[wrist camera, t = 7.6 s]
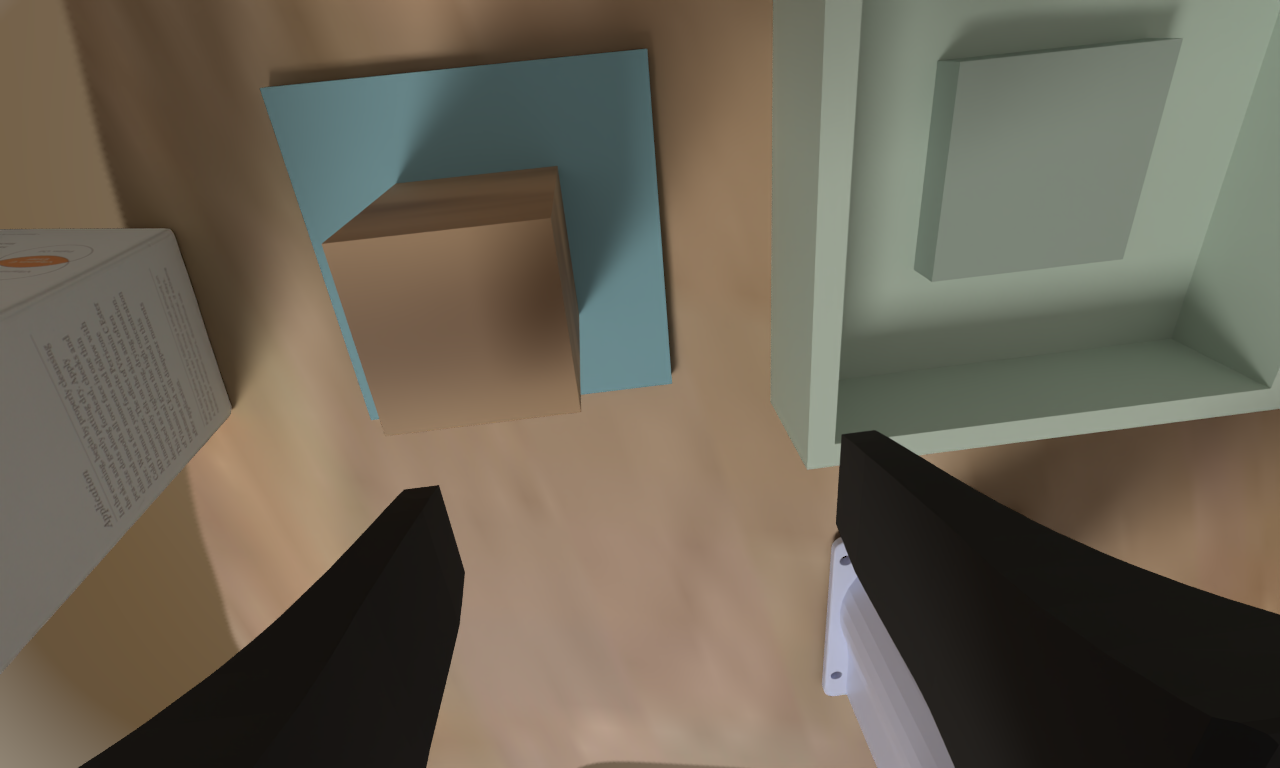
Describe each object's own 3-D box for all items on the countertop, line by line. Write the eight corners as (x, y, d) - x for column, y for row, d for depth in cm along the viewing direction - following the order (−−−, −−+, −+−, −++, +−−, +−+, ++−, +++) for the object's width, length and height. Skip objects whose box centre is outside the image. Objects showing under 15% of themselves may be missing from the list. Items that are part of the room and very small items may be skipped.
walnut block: (579, 314, 20) (581, 412, 15) (434, 331, 20) (385, 436, 15) (557, 165, 18) (550, 218, 13) (395, 183, 18) (321, 243, 13)
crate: (1168, 346, 24) (1286, 408, 20) (768, 396, 23) (807, 469, 19) (1340, -176, 17) (1576, -243, 13) (769, -122, 16) (831, -173, 12)
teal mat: (670, 376, 22) (671, 383, 22) (375, 412, 22) (371, 419, 21) (645, 48, 17) (647, 48, 17) (267, 87, 17) (259, 88, 17)
